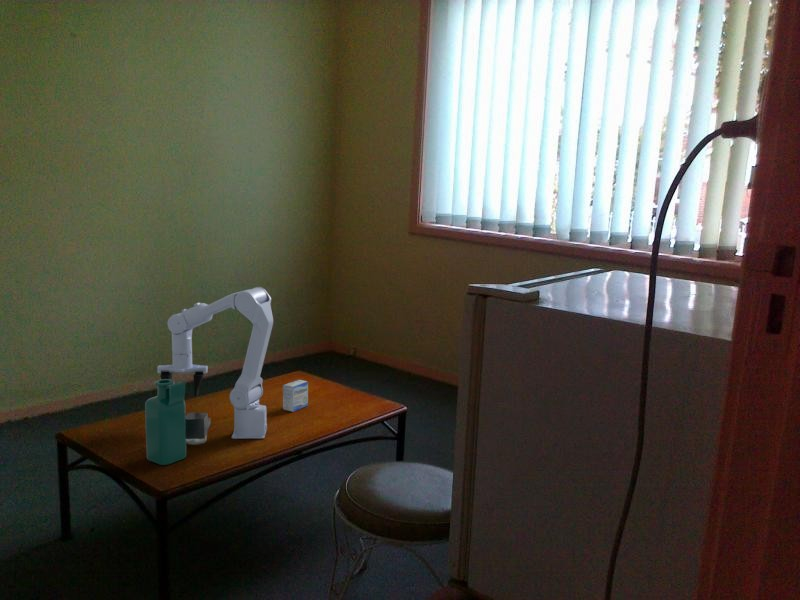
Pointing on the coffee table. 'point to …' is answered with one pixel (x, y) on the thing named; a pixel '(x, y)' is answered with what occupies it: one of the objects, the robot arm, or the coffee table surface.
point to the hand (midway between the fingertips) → (183, 395)
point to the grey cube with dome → (196, 425)
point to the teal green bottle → (166, 423)
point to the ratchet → (198, 441)
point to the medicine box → (295, 395)
